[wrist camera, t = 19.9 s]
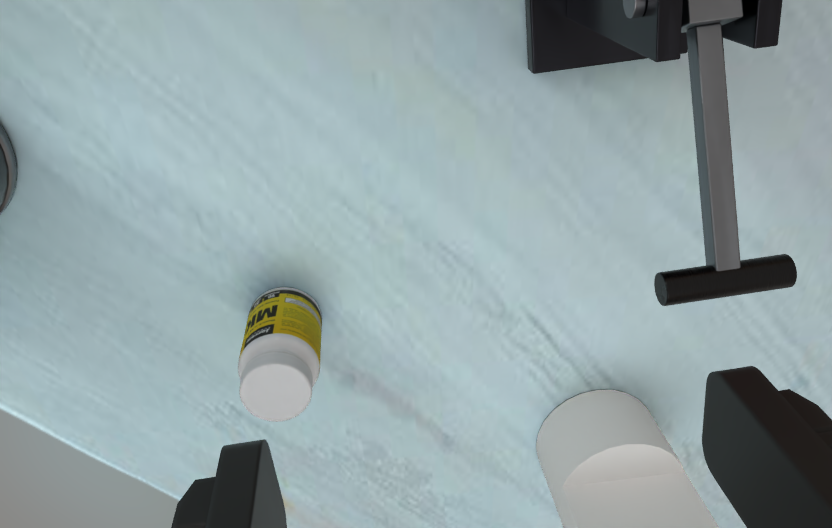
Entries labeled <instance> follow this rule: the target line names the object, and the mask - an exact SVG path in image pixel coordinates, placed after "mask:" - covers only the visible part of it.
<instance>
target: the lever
mask: <svg viewBox="0 0 832 528" xmlns="http://www.w3.org/2000/svg"><path fill="white" fill-rule="evenodd" d="M742 17H743V5H742V0H683V7H682V28H681V33H684V32H686V34H687V45H688V57H689V69H690V81H691V92H692V104H693V116H694V127H695V139H696V151H697V163H698V174H699V186H700V198H701V209H702V221H703V233H704V245H705V256H706V266H701V267H694V268H687V269H680V270H673V271H667V272H660V273H657V274H656V276H655V283H654V284H655V292H656V296H657V299H658V301H659V302H660V304H661V305H663V306H668V305H674V304H681V303H688V302H695V301H701V300H708V299H715V298H721V297H728V296H735V295H741V294H748V293H755V292H761V291H768V290H775V289H781V288H788V287H792V286H793V285H794V284H795V282H796V278H797V271H796V266H795V263H794V261H793V260H792V258H791V257H790V256H789V255H786V254H782V255H775V256H768V257H761V258H755V259H748V260H741V261H740V252H739V239H738V227H737V214H736V201H735V189H734V176H733V163H732V151H731V138H730V125H729V113H728V100H727V87H726V75H725V62H724V49H723V37H722V25H724V24H727V23H729V22H732V21H734V20H737V19H739V18H742Z"/></svg>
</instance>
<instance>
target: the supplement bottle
mask: <svg viewBox="0 0 832 528" xmlns="http://www.w3.org/2000/svg"><path fill="white" fill-rule="evenodd" d="M321 329H322V315H321V311H320V308H319V306H318V304H317V303H316V302H315V300H314V299H313V298H312V297H311V296H309V295H308V294H307V293H305V292H303V291H301V290H298V289H295V288H289V287H279V288H274V289H271V290H269V291H267V292H265V293H263V294H262V295H260V296H259V297H258V298H257V299H256V300H255V302H254V303H253V305H252V307H251V309H250V313H249V316H248V321H247V325H246V330H245V335H244V339H243V344H242V348H241V353H240V357H239V362H238V373H239V377H240V398H241V401H242V403H243V405H244V407H245V408H246V409H247V410H248V411H249V412H250V413H251V414H253V415H254V416H256V417H258V418H261V419H263V420H267V421H285V420H289V419H292V418H294V417H296V416H298V415H299V414H300V413H302V412H303V411H304V410H305V409H306V407H307V406H308V404H309V402H310V400H311V396H312V388H313V386H314V385H315V383H316V381H317V379H318V376H319V372H320V349H321Z"/></svg>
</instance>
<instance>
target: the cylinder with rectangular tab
mask: <svg viewBox="0 0 832 528" xmlns="http://www.w3.org/2000/svg"><path fill="white" fill-rule="evenodd" d="M536 449H537V455H538V459H539V462H540V465H541V468H542V470H543V473H544V476H545V478H546V481H547V484H548V487H549V489H550V492H551V495H552V498H553V500H554V503H555V506H556V509H557V511H558V514H559V517H560V519H561V522H562V525H563V528H719V526H718V525H717V523H716V522H715V520H714V518H713V517H712V515H711V513H710V512H709V510H708V509H707V507H706V505H705V504H704V502H703V500H702V499H701V497H700V496H699V494H698V492H697V491H696V489H695V487H694V486H693V484H692V483H691V481H690V479H689V478H688V476H687V474H686V473H685V471H684V469H683V466H682V464H681V462H680V461H679V459H678V457H677V456H676V454H675V453H674V451H673V449H672V448H671V446H670V444H669V443H668V441H667V440H666V438H665V436H664V435H663V433H662V432H661V430H660V428H659V427H658V425H657V423H656V422H655V420H654V419H653V417H652V415H651V414H650V412H649V410H648V409H647V408H646V407H645V406H644V405H643V403H642V402H641V401H640V400H639V399H637V398H635V397H633V396H631V395H630V394H628V393H624V392H620V391H616V390H595V391H590V392H586V393H581V394H579V395H577V396H575V397H573V398H570V399H568V400H566V401H565V402H564V403H562V404H561V405H559V406H558V407H557V408H555V409H554V410H553V411H552V412H551V414H550V415H549V416H548V417H547V418H546V419H545V421H544V422H543V424H542V426H541V428H540V430H539V432H538V437H537V443H536Z"/></svg>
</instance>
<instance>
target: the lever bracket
mask: <svg viewBox="0 0 832 528" xmlns="http://www.w3.org/2000/svg"><path fill="white" fill-rule="evenodd" d="M525 4H526V27H527V50H528V69H529V70H530V71H531V72H532V73H534V74H535V73H543V72H550V71H557V70H565V69H572V68H579V67H587V66H594V65H601V64H609V63H616V62H623V61H631V60H638V59H645V58H649V59H651V60H653V61H655V62H661V61H668V60H676V59H680V54H682V53H687V51H688V45H687V34H686V32H684V33H681V28H682V7H683V0H525ZM742 5H743V17H742V18H739V19H737V20H734V21H732V22H729V23H727V24H724V25H722V37H723V38H726V39H728V40H731V41H734V42H737V43H740V44H743V45H746V46H749V47H752V48H763V47H770V46H776V45H777V44H778V36H779V27H780V17H781V8H782V0H742Z"/></svg>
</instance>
